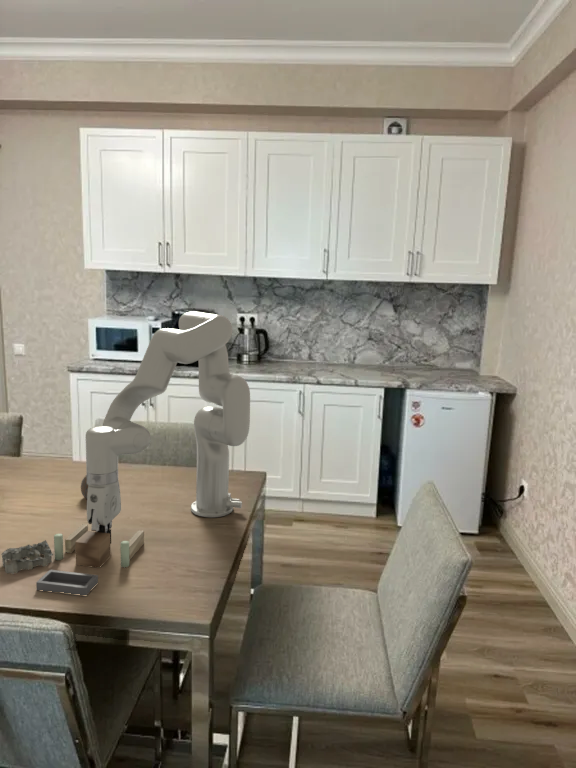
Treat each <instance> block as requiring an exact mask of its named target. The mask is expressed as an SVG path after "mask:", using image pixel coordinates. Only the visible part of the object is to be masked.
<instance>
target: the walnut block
mask: <svg viewBox="0 0 576 768" xmlns="http://www.w3.org/2000/svg"><path fill="white" fill-rule="evenodd" d="M74 551H75V565H76V566H80V565H84V566H83V567H88V566H92V567H91V568H97V567H100V566H101V565H102V564H103V563H106V561H107V560H108V559H109V558H110V557H111V556H112V555H111V544H110V533H101V532H96V531H91V530H88V531H87V532H86V533H85V534H83V535H82V536H81V537H80V538H79V539H78V540H77V541H76V542H75V550H74ZM103 565H104V564H103ZM103 565H102V566H103ZM102 566H101V567H102ZM101 567H100V568H101Z"/></svg>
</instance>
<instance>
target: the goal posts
mask: <svg viewBox="0 0 576 768" xmlns="http://www.w3.org/2000/svg"><path fill="white" fill-rule="evenodd" d="M63 537H64V536H63V533H55V534H53V549H54V551H53V552H54V560H56V561H61V560H63V559H64V538H63ZM128 566H129V567H130V560H129V540H121V542H120V567H121V568H122V567H124V568H123V569H125V567H127V568H128Z"/></svg>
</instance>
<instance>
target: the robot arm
mask: <svg viewBox="0 0 576 768" xmlns="http://www.w3.org/2000/svg"><path fill="white" fill-rule="evenodd" d="M178 328H179V329H178ZM178 328H173V327H172V328H169V327H167V328H166V327H165V328H160V329H157V330H156V331H155V332H154V333H153V335H152V337H151V339H150V341H149V344H148V346H147V348H146V350H145V353H144V356H143V358H142V360H141V362H140V364H139V367H138V369H137V372H136V374H135V377H134V379H133V380H132V381H130V382H129V383H128V384H127V385H126V386H125V387H124V388H123V389H122V390H121V391H120V392H119V393H118V394H117V395H116V397H115V398H114V399H113V400H112V402H111V404H110V405H109V408H108V409H107V413H106V415H105V417H104V419H103V422H102V425H99V426H93V427H91V428H89V429H87V431H86V432H85V465H86V467H85V468H86V469H85V470H86V471H85V472H86V475H87V484H88V485H89V486H88V493H87V499H86V520H87V524H88V525H91V527H90V531H92V532H101V533H110V545H111V544H112V526H113V520H114V519H115V518H116V517H117V516H118V515H120V513H121V511H122V499H121V497H122V496H121V486H120V482H119V456H120V455H123V456H124V455H134V454H135V455H136V454H140V453H142V452H144V451H146V449H147V448H148V447H149V446H150V445H151V441H152V436H151V432H150V431H149V430H148V429H147V428H146V427H145V426H144V425H141V424H139V423H137V422H134V421H131V419H132V417H133V415H134V414H135V412H136V410H137V409H138V407H140V405H142V404H143V403H144V402H145V401H146V402H147V400H149V399H152V398H154V397H158V396H160V395H162V394H164V393H165V392H166V390H167V388H168V386H169V383H170V381H171V378H172V375H173V373H174V371H175V368H176V367H177V364H178V363H179V364H184V365H188V364H193V363H195V362H197V361H198V394H199V397H200V398H201V400H203V401H204V402H206V403H208V404H211V406H204V407H202V408H200V409H199V410H198V411H197V412H196V414H195V417H194V419H193V429H194V436H195V442H196V487H195V488H196V489H195V490H196V491H195V493H196V494H195V496H196V497H195V498H196V499H195V501H193V502H192V503H191V505H190V511H191V512H192V513H193V514H194V515H196V516H199V517H203V518H220V517H224V516H228V515H229V514H230V513H232V512H233V510H234V508H236V509H237V508H238V509H242V507H243V501H241V499H240V498H233V497H231V494H232V493H231V492H229V481H230V480H229V477H230V476H229V475H230V474H229V473H230V471H229V470H230V450H229V446H230V447H238V446H241V445H242V444H244V443H245V441H246V440H247V438H248V436H249V433H250V427H251V426H250V425H251V424H250V423H251V392H250V387H249V384H248V383H247V381H246V380H245V379H244V378H243V377H242V376H239V375H236V374H233V373H230V370H229V352H228V349H227V346H226V344H227V343H229V341H230V340H231V339H232V335H233V326H232V322H231V320H229V319H228V318H227V317H226V316H224V315H222V314H217V313H216V314H215V313H211V312H210V313H208V312H202V311H188V312H185V313H183V314H182V315H181V316H180V317H179V319H178ZM213 405H216V406H213ZM217 406H219V407H217Z"/></svg>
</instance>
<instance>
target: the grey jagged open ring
mask: <svg viewBox="0 0 576 768" xmlns="http://www.w3.org/2000/svg"><path fill="white" fill-rule="evenodd" d="M52 552H53V551H52V550H51V547H50V545H49V544H48V541H47V540H43V541H41V542H38V543H33V544H32V545H31V544H27V545H24V546H19V547H15V548H14V547H10V548H7V549H5V550H4V551H3V552H2V553H1V554H0V555H1V559H2V561H1V562H2V567H3V568H4V569H5V574H12V575H15V574H18V572H20V571H22V570H27V569H28V571H30V570H29V569H31V570H32V569H34V568H35V567H37V565H39V566H41V565H42V567H47V566H49V564H50V562H51V563H52V556H54V554H53V553H52ZM42 554H43V556H44V557H43V556H42V557H41V555H42ZM24 557H25V558H24ZM48 563H49V564H48ZM46 565H47V566H46ZM34 566H35V567H34ZM33 567H34V568H33ZM21 569H22V570H21ZM14 573H15V574H14Z"/></svg>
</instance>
